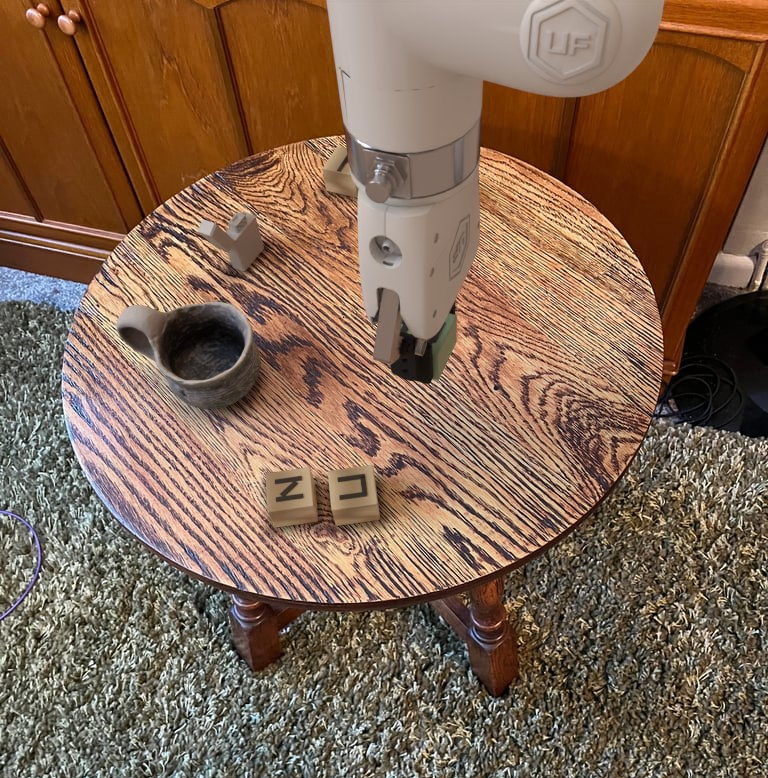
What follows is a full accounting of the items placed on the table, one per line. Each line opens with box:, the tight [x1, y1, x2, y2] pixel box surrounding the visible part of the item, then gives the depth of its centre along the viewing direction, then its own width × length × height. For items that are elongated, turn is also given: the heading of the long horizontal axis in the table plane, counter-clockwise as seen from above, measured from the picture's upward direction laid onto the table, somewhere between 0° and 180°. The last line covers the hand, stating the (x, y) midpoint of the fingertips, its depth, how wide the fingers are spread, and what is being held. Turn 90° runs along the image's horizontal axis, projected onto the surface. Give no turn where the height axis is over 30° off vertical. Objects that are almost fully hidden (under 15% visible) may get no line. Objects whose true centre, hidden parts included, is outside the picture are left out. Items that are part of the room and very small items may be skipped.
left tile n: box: [265, 466, 319, 528], centre depth 68 cm, size 4×4×3 cm
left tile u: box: [327, 464, 381, 527], centre depth 68 cm, size 4×4×3 cm
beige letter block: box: [322, 145, 359, 199], centre depth 88 cm, size 4×4×3 cm
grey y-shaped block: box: [197, 211, 265, 272], centre depth 81 cm, size 7×2×8 cm, turn 151°
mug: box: [116, 301, 262, 410], centre depth 72 cm, size 10×12×10 cm
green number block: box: [389, 313, 458, 381], centre depth 58 cm, size 4×4×3 cm
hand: (423, 351), depth 59 cm, fingers closed on green number block, 4 cm apart
